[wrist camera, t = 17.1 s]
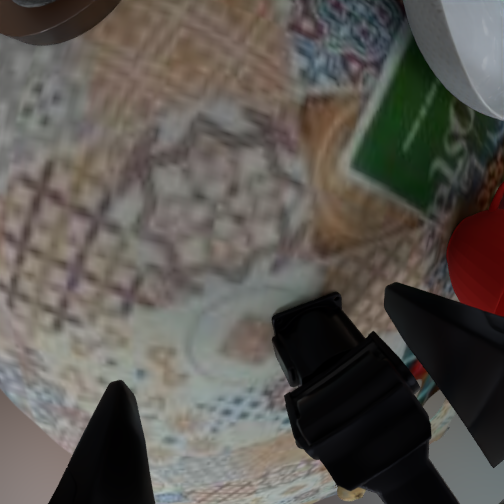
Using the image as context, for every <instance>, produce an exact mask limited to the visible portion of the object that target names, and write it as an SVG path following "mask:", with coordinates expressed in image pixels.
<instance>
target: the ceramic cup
mask: <svg viewBox="0 0 504 504" xmlns="http://www.w3.org/2000/svg"><path fill="white" fill-rule="evenodd" d="M503 195H504V182H503V183H502V184H501V185H500V187H499V188H498V190H497V192H496V194H495V196H494V198H493V200H492V202H491V205H490V207H489V210H485V211H481V212H479V213H476V214H474V215H472V216H469V217H466V218H465V219H463V220H462V221H461V222H460V223H459V224H458V226H457V227H456V229H455V230H454V232H453V234H452V236H451V238H450V241H449V244H448V247H447V254H446V258H447V263H448V269H449V275H450V279H451V283H452V286H453V289H454V291H455V294H456V296H457V297H458V299H459V301H460V302H461V303H463V304H466V305H469V306H472V307H475V308H478V309H481V310H483V311H487V312H490V313H493V314H496V315H500V316H503V317H504V209H498V207H499V204H500V201H501V199H502V197H503Z"/></svg>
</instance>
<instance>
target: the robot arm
mask: <svg viewBox="0 0 504 504" xmlns="http://www.w3.org/2000/svg"><path fill="white" fill-rule="evenodd" d="M335 297H336V298H335ZM334 298H335V299H334ZM384 308H385V310H386V312H387V314H388V315H389V317H390V319H391V320H392V322H393V323H394V325H395V327H396V328H397V330H398V332H399V333H400V335H401V336H402V338H403V340H404V341H405V343H406V344H407V346H408V347H409V348H410V350H411V351H412V352H413V354H414V355H415V356H416V358H417V359H418V360H419V362H420V363H421V364H422V366H423V367H424V368H425V370H426V371H427V372H428V374H429V375H430V376H431V378H432V379H433V380H434V382H435V383H436V385H437V386H438V387H439V389H440V390H441V391H442V393H443V394H444V396H445V397H446V398H447V400H448V401H449V403H450V404H451V406H452V407H453V408H454V410H455V411H456V413H457V414H458V416H459V417H460V418H461V420H462V421H463V423H464V424H465V426H466V427H467V429H468V431H469V432H470V433H471V435H472V437H473V438H474V440H475V441H476V443H477V444H478V446H479V447H480V449H481V450H482V452H483V453H484V455H485V457H486V458H487V460H488V461H489V463H490V464H491V466H492V467H493V468H494V467H496V466H497V465H498V464H499V463H500V462H502V461H503V460H504V317H503V316H500V315H496V314H493V313H490V312H487V311H483V310H481V309H478V308H475V307H472V306H469V305H466V304H463V303H460V302H457V301H454V300H451V299H448V298H445V297H442V296H438V295H435V294H432V293H429V292H426V291H423V290H420V289H417V288H414V287H411V286H407V285H404V284H401V283H398V282H394V283H392V284H390V285H388V286H386V288H385V297H384ZM278 319H279V320H278ZM276 320H278V321H276ZM272 324H273V329H274V333H275V336H274V337H273V338H272V343H273V347H274V351H275V355H276V358H277V360H278V362H279V364H280V366H281V368H282V370H283V372H284V374H285V376H286V378H287V380H288V382H289V384H290V386H291V387H296V386H298V388H297V389H295V390H294V391H292V392H289V393H287V394H286V395H284V398H285V402H286V404H285V405H286V409H287V412H288V416H289V420H290V424H291V428H292V431H293V435H294V438H295V439H296V445H297V446H298V448H301V449H304V450H305V451H306V453H307V454H308V455H309V456H311V457H312V458H313V459H315V460H319V459H320V461H321V462H322V463H323V464H324V466H325V467H326V469H327V470H328V472H329V473H330V475H331V476H332V478H333V480H334V481H335V483H336V484H337V485H338V486H340V487H342V488H344V489H346V490H348V491H352V490H354V489H356V488H358V487H359V488H362V489H365V490H368V491H371V492H375V493H377V494H378V495H379V497H380V498H381V499H382V501H383V502H384V503H385V504H460V503H459V501H458V500H457V499H456V497H455V496H454V494H453V493H452V491H451V490H450V488H449V487H448V485H447V484H446V482H445V481H444V479H443V478H442V477H441V475H440V474H439V472H438V471H437V470H436V468H435V467H434V465H433V464H432V462H431V461H430V459H429V458H428V454H429V440H430V439H431V424H430V421H429V416H428V414H427V412H426V411H425V410H424V408H423V407H422V405H421V404H420V402H419V401H418V400H417V398H416V397H415V395H414V394H415V393H416V392H418V391H419V390H420V386H419V384H418V382H417V381H416V379H415V378H414V376H413V375H412V373H411V372H410V371H409V369H408V368H407V367H406V365H405V364H404V363H403V362H402V360H401V359H400V358H399V357H398V356H397V355H396V354H395V353H394V352H393V351H392V350H391V348H390V347H389V346H388V345H387V344H386V343H385V342H384V341H383V340H382V339H381V338H380V337H379V336H378V335H377V334H376V333H375V332H374V331H372V332H371V333H370V334H369V335H368V337H367V338H365V337H364V336H363V335H362V334H361V332H360V331H359V330H358V329H357V327H356V326H355V325H354V324H353V323H352V321H351V320H350V319H349V318H348V316H347V315H346V314H345V313H344V312H343V310H342V297H341V295H340V294H339V293H338V292H333V293H331V294H328V295H326V296H323V297H321V298H318V299H315V300H313V301H310V302H308V303H305V304H302V305H300V306H297V307H294V308H292V309H289V310H286V311H284V312H281V313H278V314H276V315H274V316H273V317H272ZM48 504H155V500H154V494H153V489H152V483H151V477H150V471H149V464H148V457H147V450H146V443H145V438H144V433H143V429H142V425H141V420H140V416H139V411H138V406H137V401H136V398H135V396H134V394H133V393H132V391H131V390H130V389H129V388H128V386H127V385H126V384H125V383H124V382H123V381H122V380H118V381H114V382H111V383H110V384H109V385H108V387H107V389H106V391H105V393H104V394H103V396H102V398H101V400H100V402H99V404H98V406H97V408H96V410H95V412H94V413H93V415H92V417H91V419H90V421H89V423H88V425H87V427H86V429H85V431H84V433H83V435H82V437H81V439H80V441H79V443H78V445H77V447H76V449H75V451H74V453H73V455H72V458H71V460H70V462H69V464H68V467H67V468H66V470H65V472H64V474H63V477H62V478H61V480H60V482H59V485H58V487H57V488H56V490H55V492H54V494H53V496H52V498H51V499H50V501H49V503H48ZM499 504H504V499H503V500H502V501H501V502H500V503H499Z"/></svg>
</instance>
